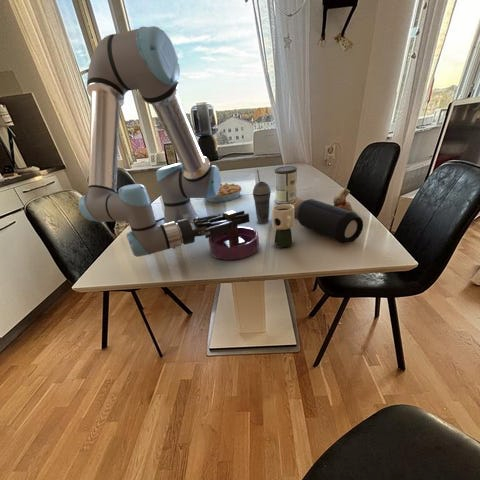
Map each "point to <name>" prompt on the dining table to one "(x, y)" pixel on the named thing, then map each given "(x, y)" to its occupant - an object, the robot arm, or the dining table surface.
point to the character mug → (283, 224)
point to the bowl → (234, 251)
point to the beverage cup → (262, 201)
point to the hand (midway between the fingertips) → (246, 216)
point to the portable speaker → (330, 220)
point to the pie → (226, 193)
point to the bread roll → (296, 205)
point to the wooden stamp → (233, 233)
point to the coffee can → (285, 184)
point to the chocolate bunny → (342, 200)
